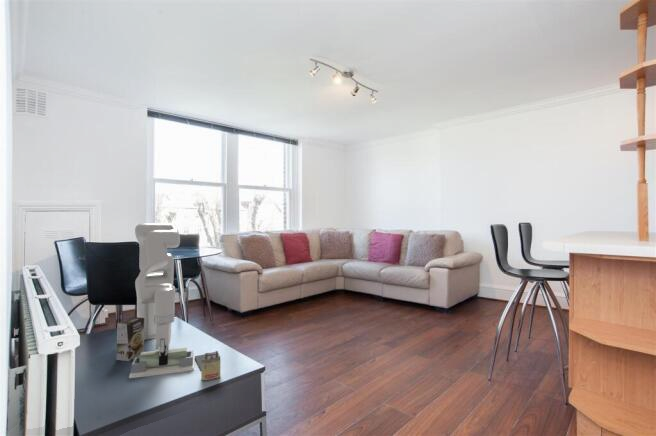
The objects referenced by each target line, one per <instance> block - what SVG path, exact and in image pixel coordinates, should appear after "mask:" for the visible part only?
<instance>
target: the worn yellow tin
mask: <svg viewBox="0 0 656 436" xmlns="http://www.w3.org/2000/svg"><path fill="white" fill-rule="evenodd" d="M204 354H205V357H204V358H202V371H201V372H200V373H201V379H200V381H202V380H208V379H213V378H218V377H220V378H221V362H222V361H221V355H219V351H218V350H216V351H214V352H205V353H204ZM218 379H219V378H218ZM213 380H214V379H213ZM208 381H209V380H208Z"/></svg>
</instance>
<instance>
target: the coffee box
mask: <svg viewBox="0 0 656 436" xmlns="http://www.w3.org/2000/svg"><path fill="white" fill-rule="evenodd" d="M116 327H117V329H116V360H117V361H121V362H122V361H124V362H130V361H132V360H134V358H135V357H140V354H141V352H145V351H144V350H145V340H144V318H138V317H137V316H136V317H135V316H132V317H129V318H126V319H124V320H121V321H119V322H117V325H116Z"/></svg>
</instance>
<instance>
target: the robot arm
mask: <svg viewBox="0 0 656 436" xmlns="http://www.w3.org/2000/svg"><path fill="white" fill-rule="evenodd" d="M134 235H135V238H136V240H137V242H138V244H139V245H138V246H139V253H138V254H139V256H138V257H139V258H138V259H139V261H138V262H139V263H138V264H139V265H138V266H139V270H140V272H139V274H138V275H137V277H136V279H135V282H134V284H135V285H134V286H135V292H136V317H138V318H144V341H147V340H152V339H155V344H154V346H155V348H154V349H155V350H159V366H161V365H167V364H168V354H167V349H170V348H169V347H170V343H171V338H172V323H174V322H175V310H176V309H175V308H176V307H175V305H176V304H175V297H176V287H175V285H174V276H175V275H174V274H175V259H174V256H173V255H172V254H171V253H170V252H169V253H168V249H173V248H174V249H176V248H178V247H180V244H181V236H180V232H179V230H178V229H177V227H176V225H174V224H173V223H172V222H171V223H169V222H168V223H167V222H164V223H163V222H161V223H160V222H158V223H156V222H155V223H154V222H151V223H150V222H148V223H147V222H145V223H143V222H142V223H139V224H137V225H136V226H135V228H134ZM165 350H166V351H165Z"/></svg>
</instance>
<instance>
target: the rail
mask: <svg viewBox="0 0 656 436" xmlns="http://www.w3.org/2000/svg"><path fill="white" fill-rule="evenodd" d="M165 351H166V350H165ZM187 351H188V350H187V346H186V347H178V348H169V349H167V354H168V364H167V365H172V364H180V358H184V357H187ZM139 357H140V363H142V362H146V368H147V367H155V366H159V349H157V350H151V351H144V352H141V354H140V355H139ZM161 366H164V365H161Z"/></svg>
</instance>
